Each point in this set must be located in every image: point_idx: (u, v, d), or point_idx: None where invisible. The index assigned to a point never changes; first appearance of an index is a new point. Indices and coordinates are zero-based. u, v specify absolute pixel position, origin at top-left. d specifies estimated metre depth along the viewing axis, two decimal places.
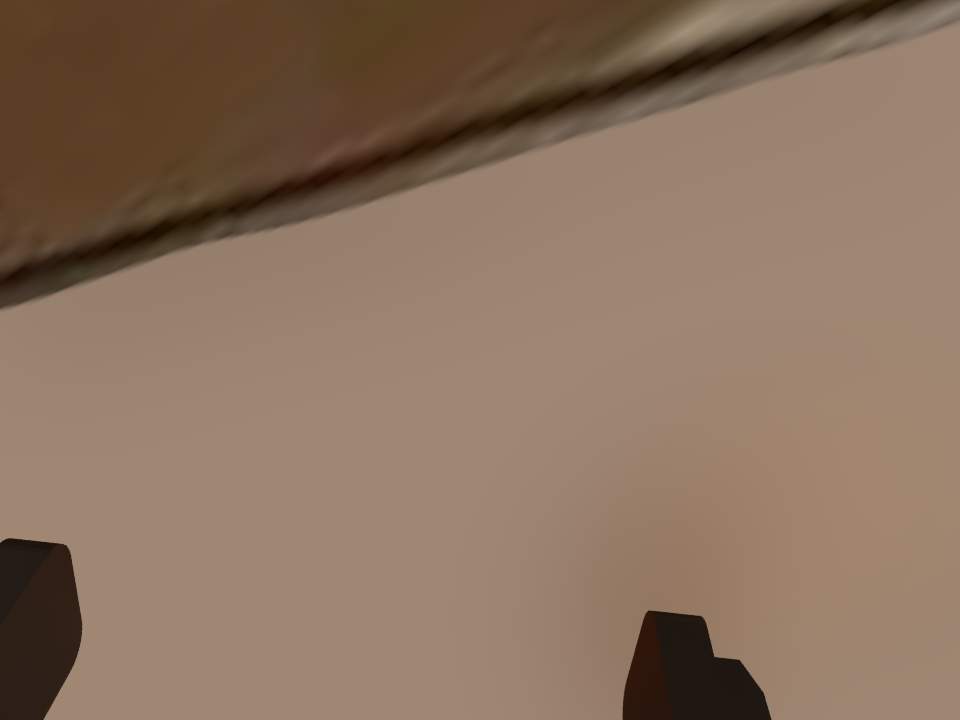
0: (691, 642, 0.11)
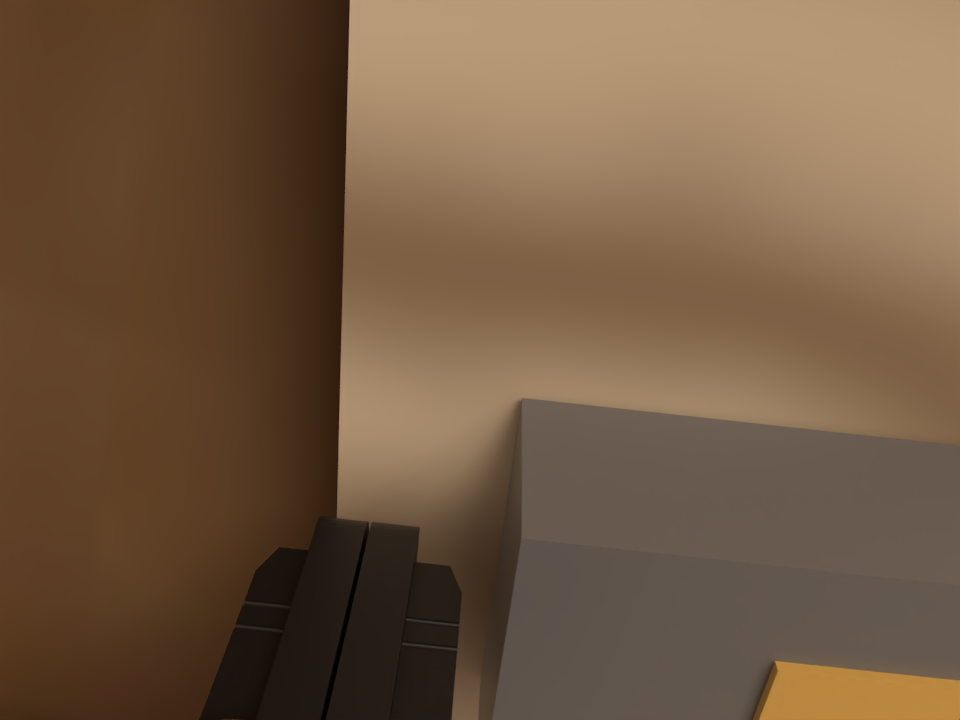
0: (397, 546, 0.12)
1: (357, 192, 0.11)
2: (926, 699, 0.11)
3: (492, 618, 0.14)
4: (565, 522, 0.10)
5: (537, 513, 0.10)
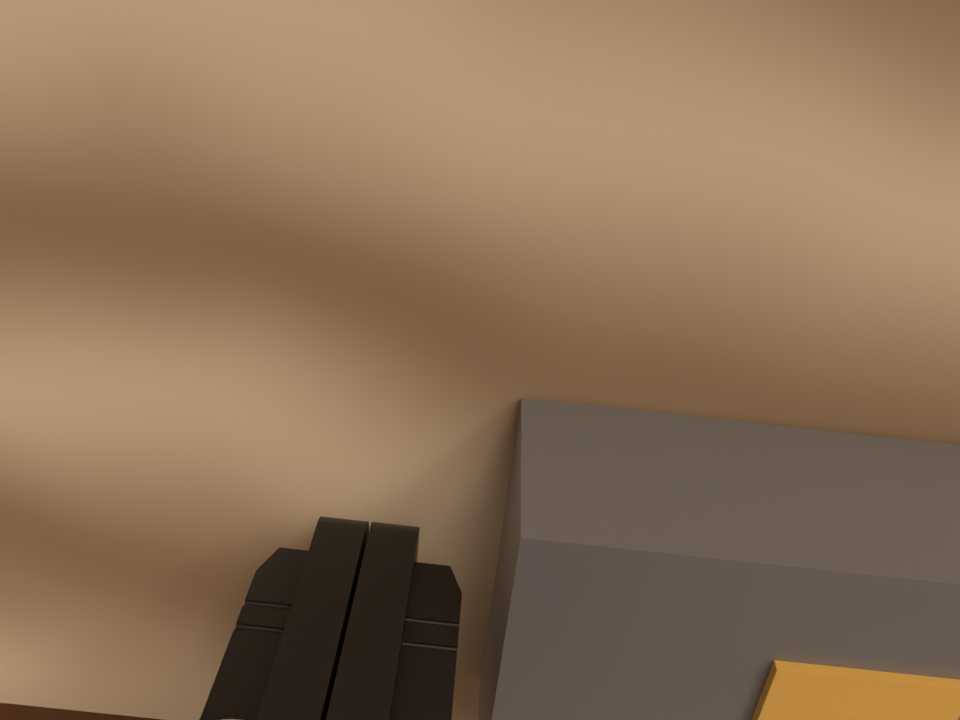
0: (397, 546, 0.12)
1: None
2: (925, 698, 0.11)
3: (492, 618, 0.14)
4: (564, 521, 0.10)
5: (536, 513, 0.10)
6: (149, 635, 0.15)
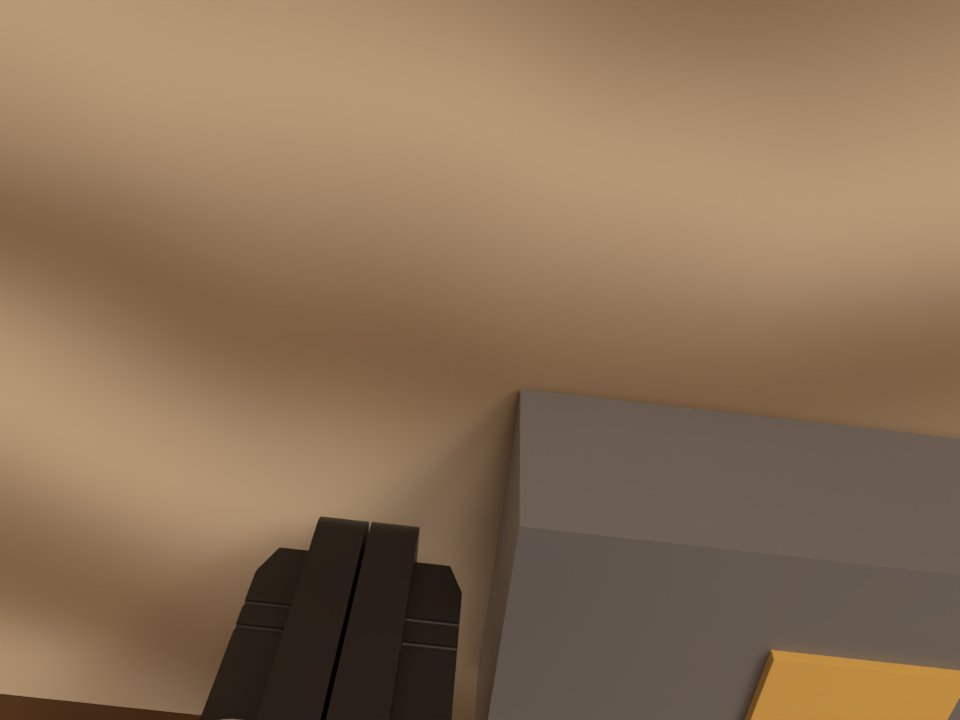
0: (397, 547, 0.12)
1: None
2: (921, 688, 0.11)
3: (490, 609, 0.14)
4: (563, 510, 0.10)
5: (535, 502, 0.10)
6: None
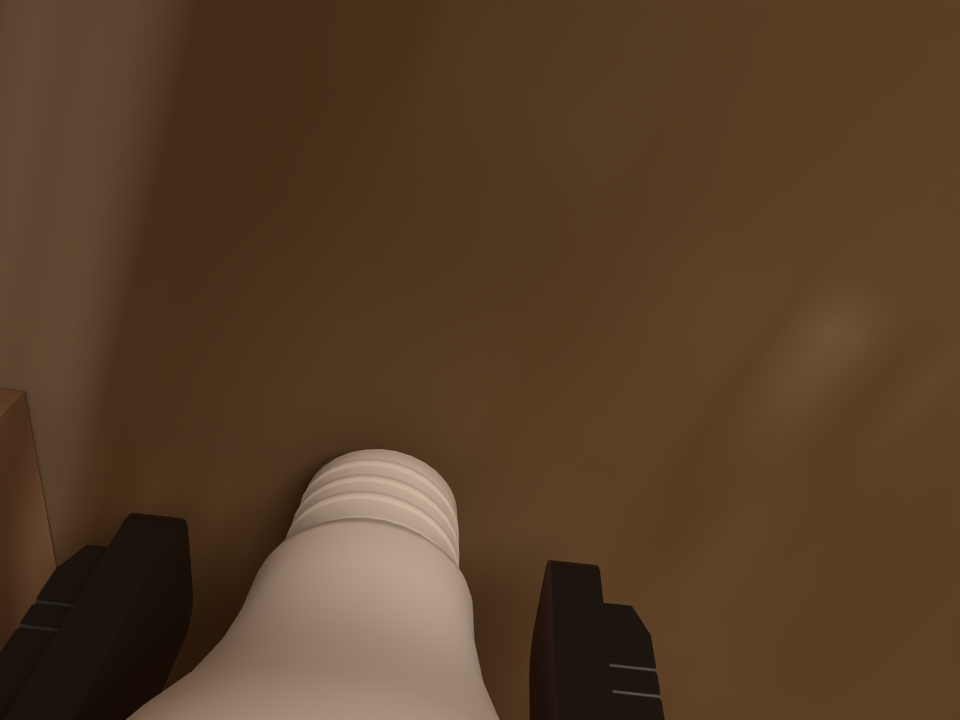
0: (583, 587, 0.12)
1: None
2: None
3: None
4: None
5: None
6: None
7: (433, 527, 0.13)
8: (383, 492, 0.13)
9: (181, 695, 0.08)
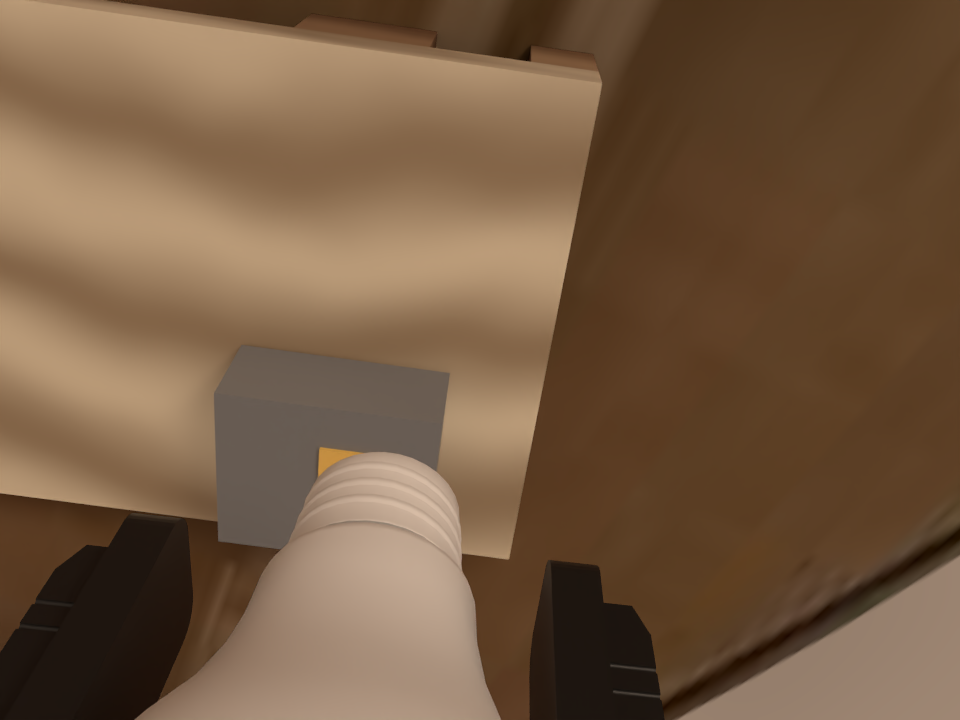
0: (583, 587, 0.12)
1: None
2: None
3: None
4: (234, 388, 0.27)
5: (224, 385, 0.27)
6: None
7: (436, 530, 0.13)
8: (386, 495, 0.13)
9: (186, 698, 0.08)
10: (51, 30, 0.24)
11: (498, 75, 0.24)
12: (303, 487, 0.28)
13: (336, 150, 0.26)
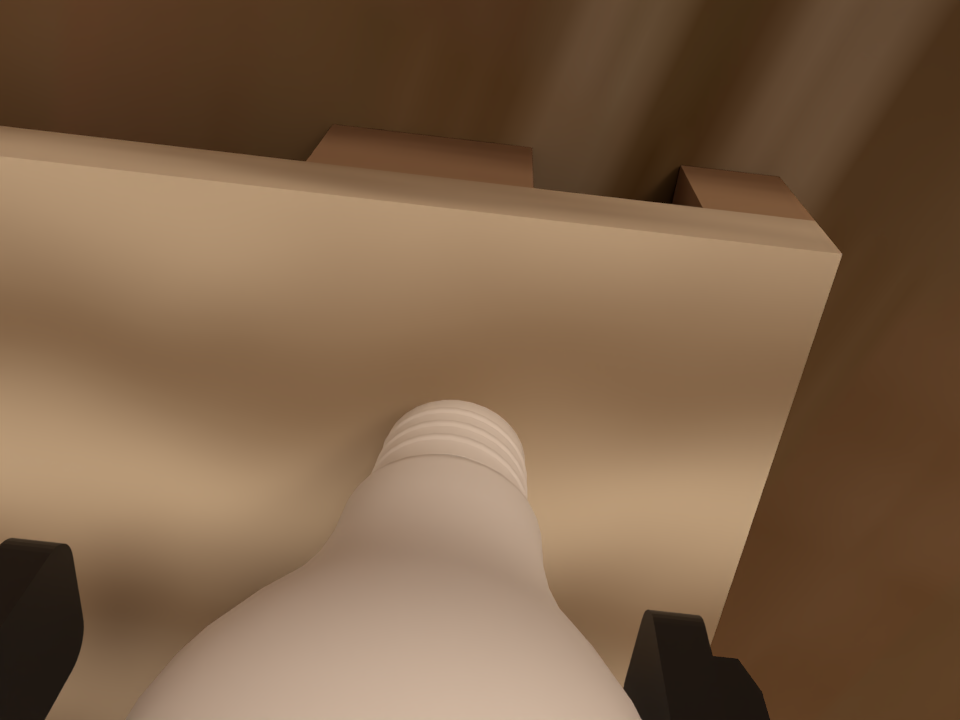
0: (689, 641, 0.11)
1: None
2: None
3: None
4: None
5: None
6: None
7: (506, 469, 0.14)
8: (462, 434, 0.14)
9: (300, 574, 0.10)
10: None
11: (661, 244, 0.14)
12: None
13: (380, 362, 0.15)
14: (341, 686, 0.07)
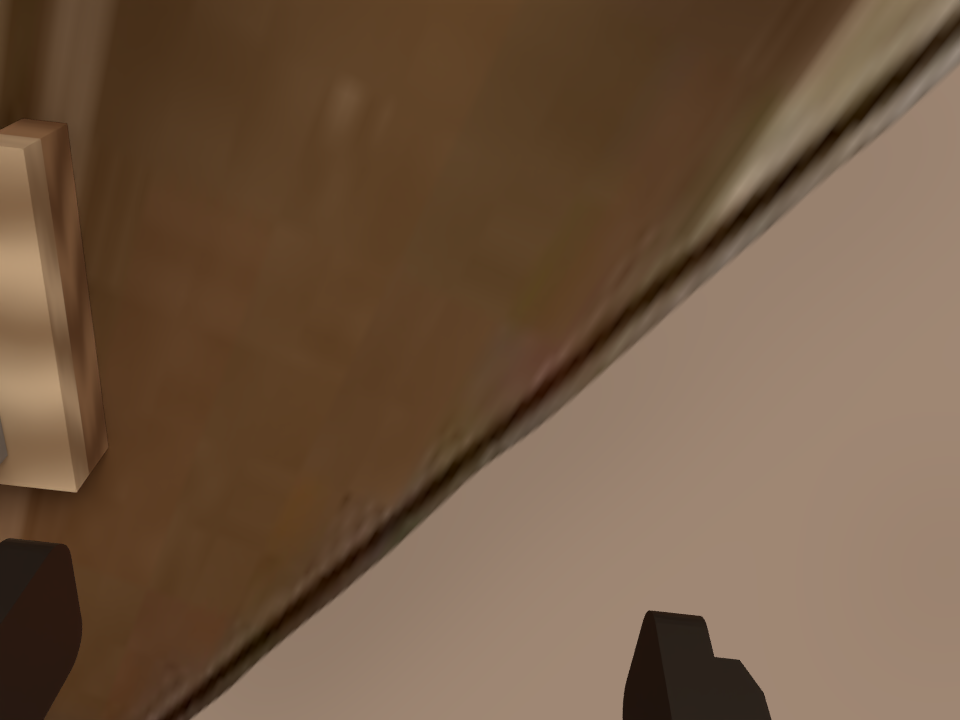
0: (691, 642, 0.11)
1: None
2: None
3: None
4: None
5: None
6: None
7: None
8: None
9: None
10: None
11: None
12: None
13: None
14: None
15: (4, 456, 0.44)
